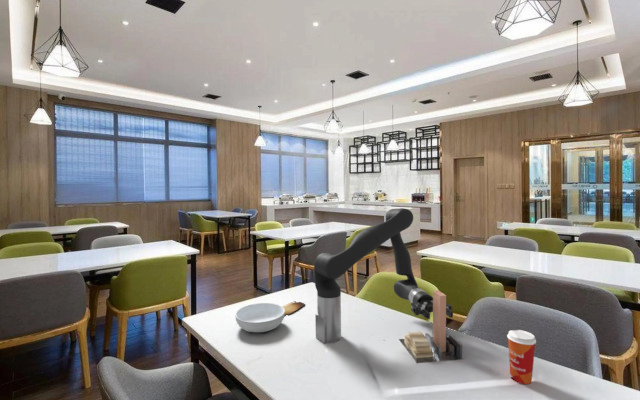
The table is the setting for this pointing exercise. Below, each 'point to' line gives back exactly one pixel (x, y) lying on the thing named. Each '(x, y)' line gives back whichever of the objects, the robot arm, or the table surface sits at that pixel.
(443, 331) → the pink rectangular bar
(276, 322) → the serving bowl
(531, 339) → the paper cup
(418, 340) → the offcut stack
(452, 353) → the rack
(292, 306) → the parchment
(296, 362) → the table surface
